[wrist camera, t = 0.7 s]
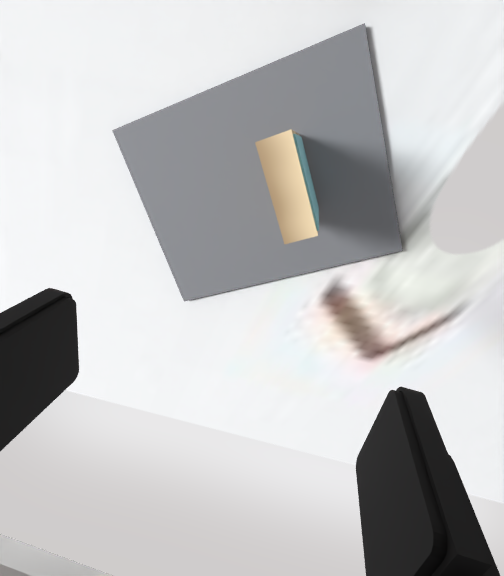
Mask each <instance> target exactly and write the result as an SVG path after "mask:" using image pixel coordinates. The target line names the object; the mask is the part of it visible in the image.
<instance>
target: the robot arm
mask: <svg viewBox="0 0 504 576" xmlns="http://www.w3.org/2000/svg"><path fill="white" fill-rule="evenodd" d="M78 372H79V359H78V337H77V314H76V302H75V300H73V299H72V296H71V294H69V293H66V292H63V291H59V290H56V289H52V288H48V289H45V290H44V291H42V292H40V293H38V294H36V295H34V296H32V297H30V298H28V299H26V300H24V301H23V302H21V303H19V304H17V305H15V306H13V307H11V308H9V309H7V310H5V311H3V312H2V313H0V451H1V450H2V449H3V448H4V447H5V446H6V445H7V444H9V442H10V441H12V439H14V438H15V437H16V436H17V435H18V434H19V433H20V432H21V431H22V430H23V429H24V428H25V427H26V426H27V425H29V424H30V423H31V422H32V421H33V420H34V419H35V418H36V417H37V416H38V415H39V414H40V413H41V412H42V411H43V410H44V409H45V408H46V407H47V406H49V405H50V403H52V402H53V401H54V400H55V399H56V398H57V397H58V396H59V395H60V394H61V393H62V392H63V391H64V390H65V389H66V388H68V387H69V386H70V385H71V384H72V383H73V382H74V381H75V379H76V378H77V375H78ZM356 474H357V484H358V495H359V506H360V516H361V527H362V536H363V547H364V558H365V568H366V576H500V574H499V571H498V569H497V567H496V564H495V562H494V559H493V557H492V554H491V552H490V549H489V547H488V544H487V542H486V539H485V537H484V535H483V532H482V530H481V527H480V525H479V522H478V520H477V518H476V515H475V513H474V510H473V508H472V505H471V503H470V500H469V498H468V495H467V493H466V490H465V488H464V485H463V483H462V480H461V478H460V475H459V473H458V470H457V468H456V466H455V463H454V461H453V459H452V458H451V456H450V455H449V454H448V453H447V450H446V448H445V445H444V443H443V440H442V438H441V435H440V433H439V430H438V428H437V425H436V423H435V420H434V417H433V415H432V412H431V410H430V407H429V405H428V402H427V400H426V397H425V395H424V394H423V393H422V392H418V391H415V390H411V389H407V388H404V387H399V388H398V389H397V390H396V391H395V390H391V391H390V392H389V393H388V395H387V397H386V399H385V401H384V403H383V405H382V407H381V409H380V412H379V414H378V416H377V418H376V420H375V422H374V424H373V426H372V428H371V430H370V432H369V434H368V436H367V438H366V440H365V442H364V444H363V446H362V449H361V451H360V453H359V455H358V457H357V462H356ZM0 576H113V575H109V574H107V573H104V572H102V571H99V570H96V569H94V568H91V567H88V566H86V565H83V564H80V563H77V562H75V561H72V560H69V559H66V558H64V557H61V556H58V555H56V554H53V553H50V552H48V551H45V550H42V549H39V548H37V547H34V546H31V545H29V544H26V543H23V542H21V541H18V540H15V539H12V538H10V537H7V536H4V535H1V534H0Z"/></svg>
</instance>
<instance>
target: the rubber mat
mask: <svg viewBox="0 0 504 576" xmlns="http://www.w3.org/2000/svg"><path fill="white" fill-rule="evenodd" d="M291 129H292V130H293V131H295V132H297V133H298V134H299V135H300V136H301V137H302V141H303V145H304V149H305V153H306V157H307V161H308V166H309V170H310V174H311V178H312V182H313V186H314V190H315V194H316V198H317V202H318V207H319V231H318V236H315V237H311V238H308V239H304V240H300V241H296V242H292V243H288V244H284V241H283V237H282V234H281V230H280V227H279V223H278V220H277V217H276V213H275V210H274V206H273V203H272V199H271V196H270V192H269V189H268V185H267V182H266V178H265V175H264V172H263V168H262V165H261V161H260V158H259V154H258V151H257V147H256V144H255V142H257V141H260V140H263V139H266V138H268V137H271V136H274V135H277V134H280V133H282V132H285V131H288V130H291ZM112 131H113V133H114V135H115V138H116V140H117V143H118V145H119V147H120V150H121V152H122V155H123V157H124V159H125V162H126V164H127V166H128V169H129V171H130V174H131V176H132V178H133V181H134V183H135V186H136V188H137V190H138V193H139V195H140V197H141V200H142V202H143V205H144V207H145V209H146V212H147V214H148V217H149V219H150V221H151V224H152V226H153V228H154V231H155V233H156V236H157V238H158V240H159V243H160V245H161V248H162V250H163V252H164V255H165V257H166V259H167V262H168V264H169V267H170V269H171V271H172V274H173V276H174V279H175V281H176V283H177V286H178V288H179V290H180V293H181V295H182V298H183V300H184V301H188V300H192V299H197V298H201V297H205V296H210V295H214V294H218V293H223V292H227V291H231V290H235V289H240V288H244V287H248V286H253V285H257V284H261V283H266V282H270V281H274V280H278V279H283V278H287V277H291V276H296V275H300V274H304V273H309V272H313V271H317V270H322V269H326V268H330V267H334V266H339V265H343V264H347V263H352V262H356V261H360V260H365V259H369V258H373V257H378V256H382V255H386V254H390V253H395V252H399V251H403V250H402V244H401V238H400V232H399V226H398V220H397V214H396V208H395V202H394V196H393V190H392V184H391V178H390V172H389V166H388V160H387V154H386V148H385V142H384V136H383V130H382V124H381V118H380V112H379V106H378V100H377V94H376V88H375V82H374V76H373V70H372V64H371V58H370V52H369V46H368V40H367V34H366V28H365V23H364V24H362V25H360V26H357V27H355V28H352V29H350V30H348V31H345V32H343V33H341V34H338V35H336V36H334V37H331V38H329V39H327V40H324V41H322V42H319V43H317V44H315V45H312V46H310V47H308V48H305V49H303V50H301V51H298V52H296V53H294V54H291V55H289V56H287V57H284V58H282V59H279V60H277V61H275V62H272V63H270V64H268V65H265V66H263V67H261V68H258V69H256V70H254V71H251V72H249V73H246V74H244V75H242V76H239V77H237V78H235V79H232V80H230V81H228V82H225V83H223V84H221V85H218V86H216V87H214V88H211V89H209V90H206V91H204V92H202V93H199V94H197V95H195V96H192V97H190V98H188V99H185V100H183V101H181V102H178V103H176V104H173V105H171V106H169V107H166V108H164V109H162V110H159V111H157V112H155V113H152V114H150V115H148V116H145V117H143V118H140V119H138V120H136V121H133V122H131V123H129V124H126V125H124V126H122V127H119V128H117V129H115V130H112Z"/></svg>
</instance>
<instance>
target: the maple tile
mask: <svg viewBox="0 0 504 576" xmlns="http://www.w3.org/2000/svg"><path fill="white" fill-rule="evenodd" d="M255 144H256V147H257V151H258V154H259V158H260V161H261V165H262V168H263V172H264V175H265V178H266V182H267V185H268V189H269V192H270V196H271V199H272V203H273V206H274V210H275V213H276V217H277V220H278V223H279V227H280V230H281V234H282V237H283V241H284V244H288V243H292V242H296V241H300V240H304V239H308V238H311V237H315V236H318V231H319V207H318V202H317V198H316V194H315V190H314V186H313V182H312V178H311V174H310V170H309V166H308V161H307V157H306V153H305V149H304V145H303V141H302V137H301V136H300V135H299V134H298V133H297V132H295V131H293V130H292V129H291V130H288V131H285V132H282V133H280V134H277V135H274V136H271V137H268V138H266V139H263V140H260V141H257V142H255Z"/></svg>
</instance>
